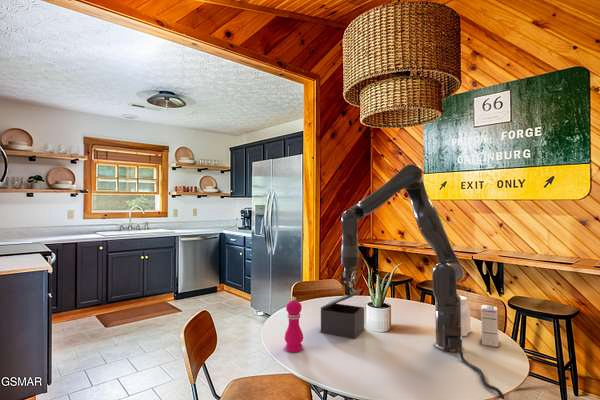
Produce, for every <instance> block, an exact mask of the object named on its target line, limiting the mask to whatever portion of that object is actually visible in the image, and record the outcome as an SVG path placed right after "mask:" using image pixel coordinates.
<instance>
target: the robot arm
mask: <svg viewBox="0 0 600 400" xmlns="http://www.w3.org/2000/svg"><path fill="white" fill-rule="evenodd" d="M423 175H424V174H423V170H422V168H421V167H420V166H419V165H418V164H415V163H409V164H406V165H405V166H403V167H402V168H401V169H400V170H399V171H398V172H397V173H396V174H395V175H393V176H392V177H391V178H390V179H389V180H388V181H387V182H386V183H384V184H383V185H381V186H380V187H379V188H378V189H376V190H374V191H373V192H372V193H370V194H369V195H367V196H365V197H364V198H362V199H361V200H360V201H359V202H358V203H357V204H355V205H353V206H351V207H350V208H348V209H347V210H345V211H344V212H342V214H341V231H342V234H341V255H340V265H341V266H342V267H344V271H342V272H341V273H340V274H341V284H342V286H343V287H344V296H345V295H348V296H349V295H350V291H351V293H353V291H352V289H351V288H350V283H353V289H354V291H356V289H355V287H356V286H355V284H356V282H357V281H358V271H359V270H358V268H357V267H359V263H360V262H359V260H360V259H359V257H360V255H359V254H360V253H359V252H360V251H359V250H360V249H359V234H358V228H359V227H358V226H359V225H358V223H359V222H360V221H361V220H362V219H364V218H365V217H366V216H369V215H371V214H372V213H374V212H375V211H377V210H378V209H379V208H381V207H382V206H384V205H385V204H386V203H387V202H388V201H390V199H392V197H394V196H395V195H397V193H399V192H401V191H402V190H405V192H406V194H407V196H408V198H409V200H410V203H411V208H412V211H413V216H414V218H415V222H416V224H417V227H418V230H419V232H420V234H421V236H422V237H423V239H424V240H425V241H426V243H427V244H428V245H429V246H430V248H431V249H432V250H433V252H434V255H435V257H436V259H437V261H438V263H437V264H435V266H434V267H433V268H432V276H431V277H432V293H433V296H434V300H435V301H434V302H435V303H434V305H435V311H434V313H435V316H434V317H435V347H436V348H437V349H439V350H440V351H443V352H445V353H459V355H460V356H459V357H460V359H461V361H462V362H463V363H464V364H465V365H466V366H467V367H470V368H471V369H473V370H475V371H476V372H478V374H479V375H480V379H481V382H482V384H483V385H484V387H486V388H488V389H490V390H493V391H495V392H496V393H497V394H498V395H499V397H500V399H502V400H505V399H506V397H505V395H504V394H503V392H502V391H501V390H500V388H498V387H496V386H494V385H491V384H490V383H488V382H487V381H486V378H485V375H484V373H483V371H482V370H481V369H480V368H479V367H477V366H475V365H473V364H471V363H470V362H468V361H467V360H466V358H465V357H464V354H463V351H462V349H463V339H462V336H461V298H460V296H461V295H460V296H459V294H458V291H457V284H459V283H461V282H462V281H463V279H464V275H465V274H464V269H463V266H462V264H461V262H460V261H459V259H458V257H457V254H456V253H455V251H454V249H453V247H452V245H451V243H450V239H449V237H448V235H447V232H446V230H445V227H444V225H443V221H442V219H441V217H440V214H439V212H438V211H437V208H436V207H435V205H434V204H433V202H432V200H431V199H430V197H429V195H428V193H427V190H426V187H425V183H424V179H423V177H424V176H423Z"/></svg>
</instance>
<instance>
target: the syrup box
mask: <svg viewBox="0 0 600 400" xmlns="http://www.w3.org/2000/svg"><path fill="white" fill-rule="evenodd" d="M480 319H481V320H480V321H481V344H482V345H484V346H489V347H495V348H499V316H498V306H495V305H489V304H488V305H487V304H481V307H480Z"/></svg>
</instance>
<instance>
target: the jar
mask: <svg viewBox="0 0 600 400" xmlns="http://www.w3.org/2000/svg"><path fill="white" fill-rule="evenodd" d="M458 295H459V294H458ZM459 296H460V298H461V337H468V334H470V333H471V330H472V328H471V307H470V305H469V304H468V298H467V297H466V296H464V295H459Z"/></svg>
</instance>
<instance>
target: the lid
mask: <svg viewBox="0 0 600 400" xmlns="http://www.w3.org/2000/svg"><path fill="white" fill-rule="evenodd" d="M350 288H351V289H352V291H353V293H351V291H350V295H349V296H348V295H345V294H344V295H343V296H341V297H339V298H335V299H333V300H331V301H329V302H328V303H326V304H324V305H323V306H321V307H320V310H321V309H324V308H326V307H329V306H331V305H333V304H339V303H340V302H343V301H346V300H348V299H351V298H352V297H354V296H356V295H358V294H359V293H360V292H362V291H363V289H362V288H360V289H357V290H355V291H354V289H353V283H350Z"/></svg>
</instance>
